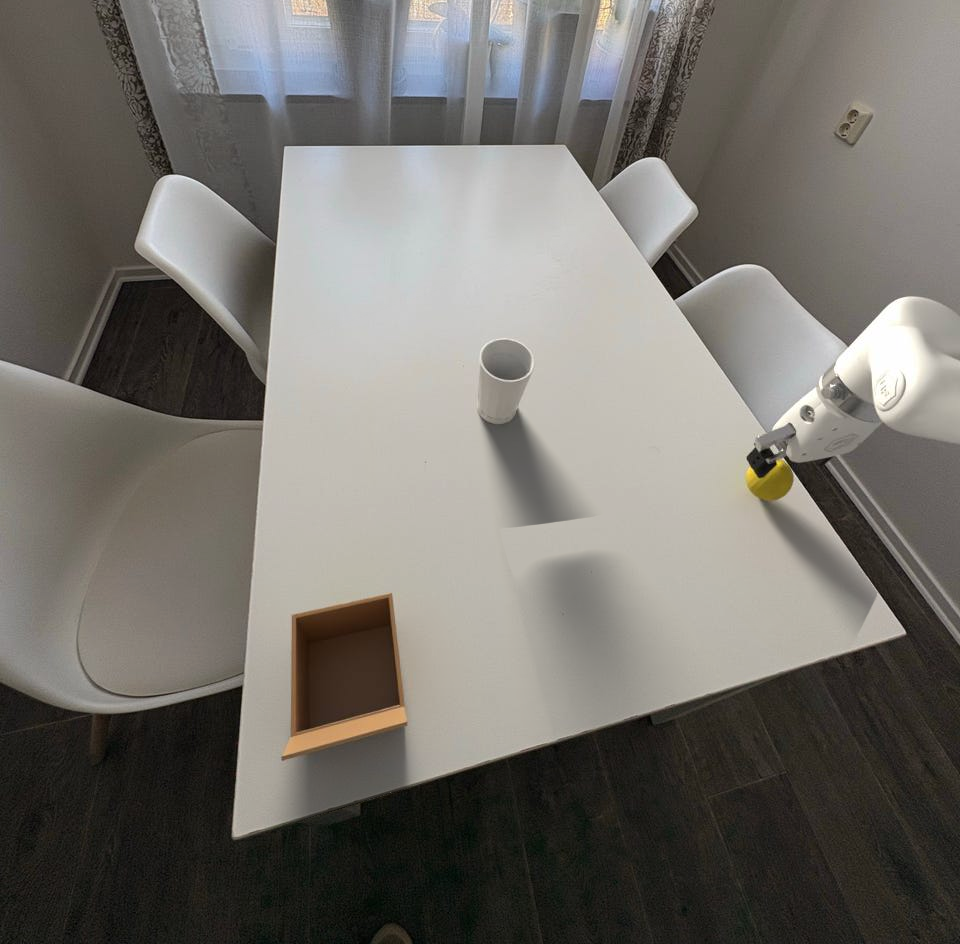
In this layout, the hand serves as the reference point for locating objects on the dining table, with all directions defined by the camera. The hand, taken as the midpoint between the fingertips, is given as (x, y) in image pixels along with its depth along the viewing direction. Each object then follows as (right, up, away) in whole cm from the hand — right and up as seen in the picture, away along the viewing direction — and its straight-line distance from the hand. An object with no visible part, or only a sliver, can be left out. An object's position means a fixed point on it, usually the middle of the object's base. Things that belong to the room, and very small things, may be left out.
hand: (784, 462), depth 73 cm
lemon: (-1, -6, +6) cm, 9 cm away
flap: (-53, -14, -29) cm, 62 cm away
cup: (-39, +5, +12) cm, 41 cm away
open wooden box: (-55, -19, -15) cm, 61 cm away
